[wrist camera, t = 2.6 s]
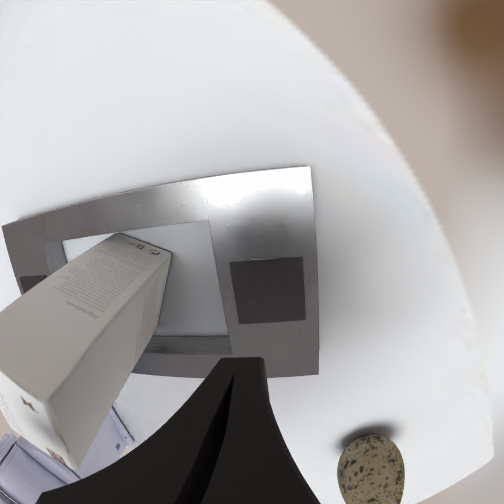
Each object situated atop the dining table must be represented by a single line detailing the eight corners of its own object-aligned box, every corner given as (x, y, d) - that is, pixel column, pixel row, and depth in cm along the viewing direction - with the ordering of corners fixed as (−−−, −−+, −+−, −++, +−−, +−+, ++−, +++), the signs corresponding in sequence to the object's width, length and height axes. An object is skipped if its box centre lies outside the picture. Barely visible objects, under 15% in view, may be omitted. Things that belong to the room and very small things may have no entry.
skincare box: (115, 229, 16) (-42, 326, 5) (178, 252, 16) (44, 401, 5) (107, 308, 18) (2, 423, 7) (162, 332, 19) (77, 476, 7)
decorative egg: (328, 456, 22) (333, 539, 13) (342, 424, 20) (355, 523, 11) (382, 450, 22) (397, 527, 12) (402, 417, 20) (429, 505, 10)
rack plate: (315, 354, 18) (318, 375, 16) (61, 347, 21) (49, 359, 19) (306, 165, 14) (310, 166, 12) (18, 219, 17) (0, 226, 15)
